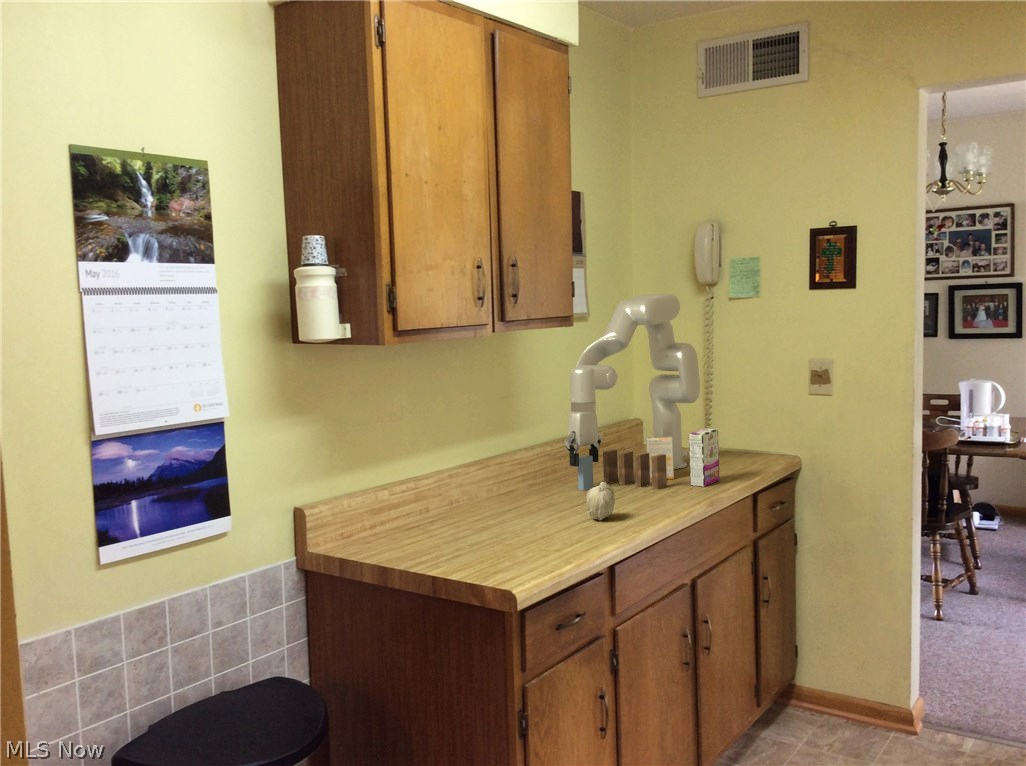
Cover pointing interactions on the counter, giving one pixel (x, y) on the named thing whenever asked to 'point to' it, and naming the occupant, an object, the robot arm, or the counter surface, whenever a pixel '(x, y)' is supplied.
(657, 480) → the domino
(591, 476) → the domino
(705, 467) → the candy bar box
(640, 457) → the domino
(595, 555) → the counter surface
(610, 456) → the domino
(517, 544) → the counter surface
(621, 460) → the domino
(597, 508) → the garlic bulb
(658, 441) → the supplement box
